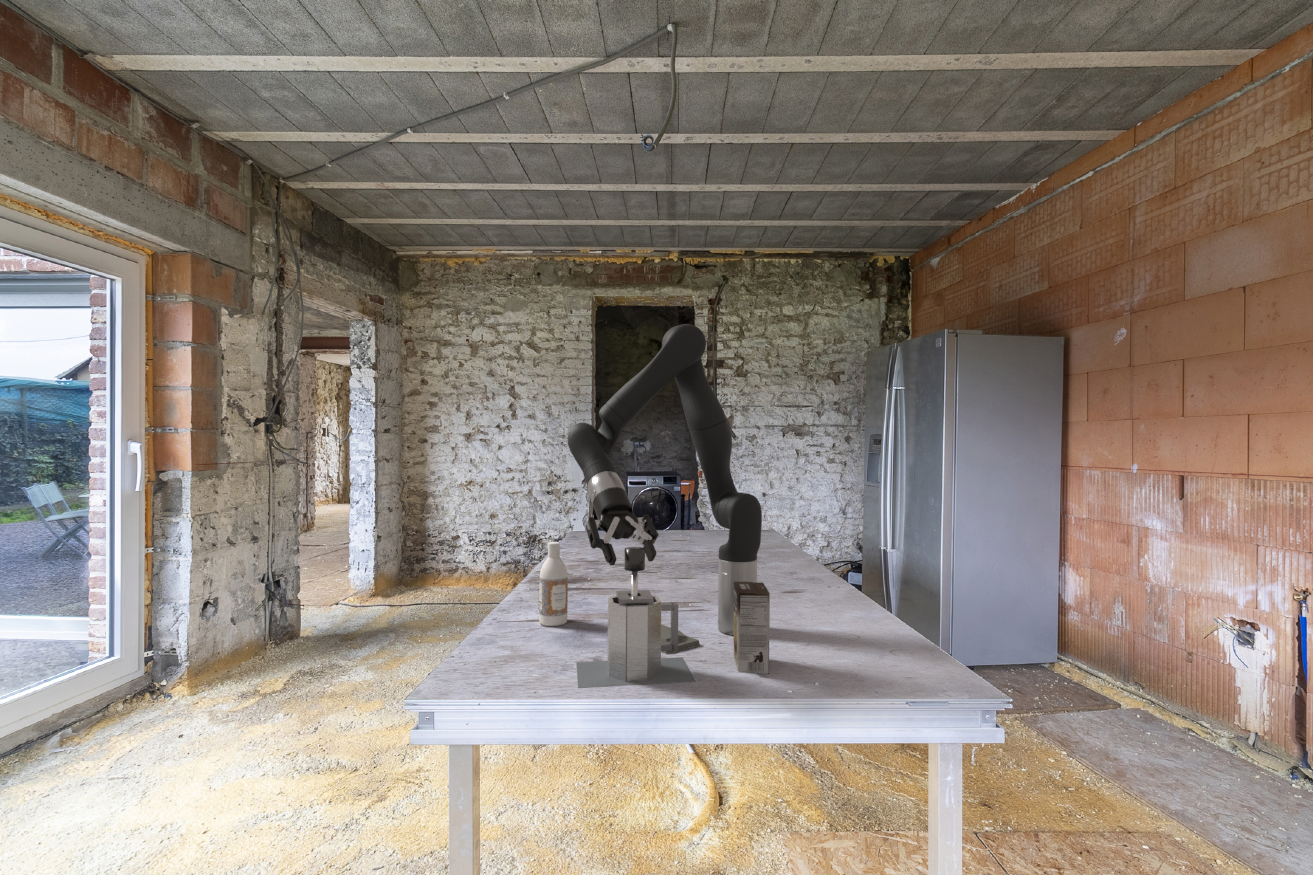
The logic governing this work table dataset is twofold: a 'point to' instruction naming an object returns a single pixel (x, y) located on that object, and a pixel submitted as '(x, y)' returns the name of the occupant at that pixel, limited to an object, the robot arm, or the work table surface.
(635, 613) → the carafe
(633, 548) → the plunger
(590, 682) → the mat
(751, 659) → the coffee box
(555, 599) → the bath foam
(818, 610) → the work table surface
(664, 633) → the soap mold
